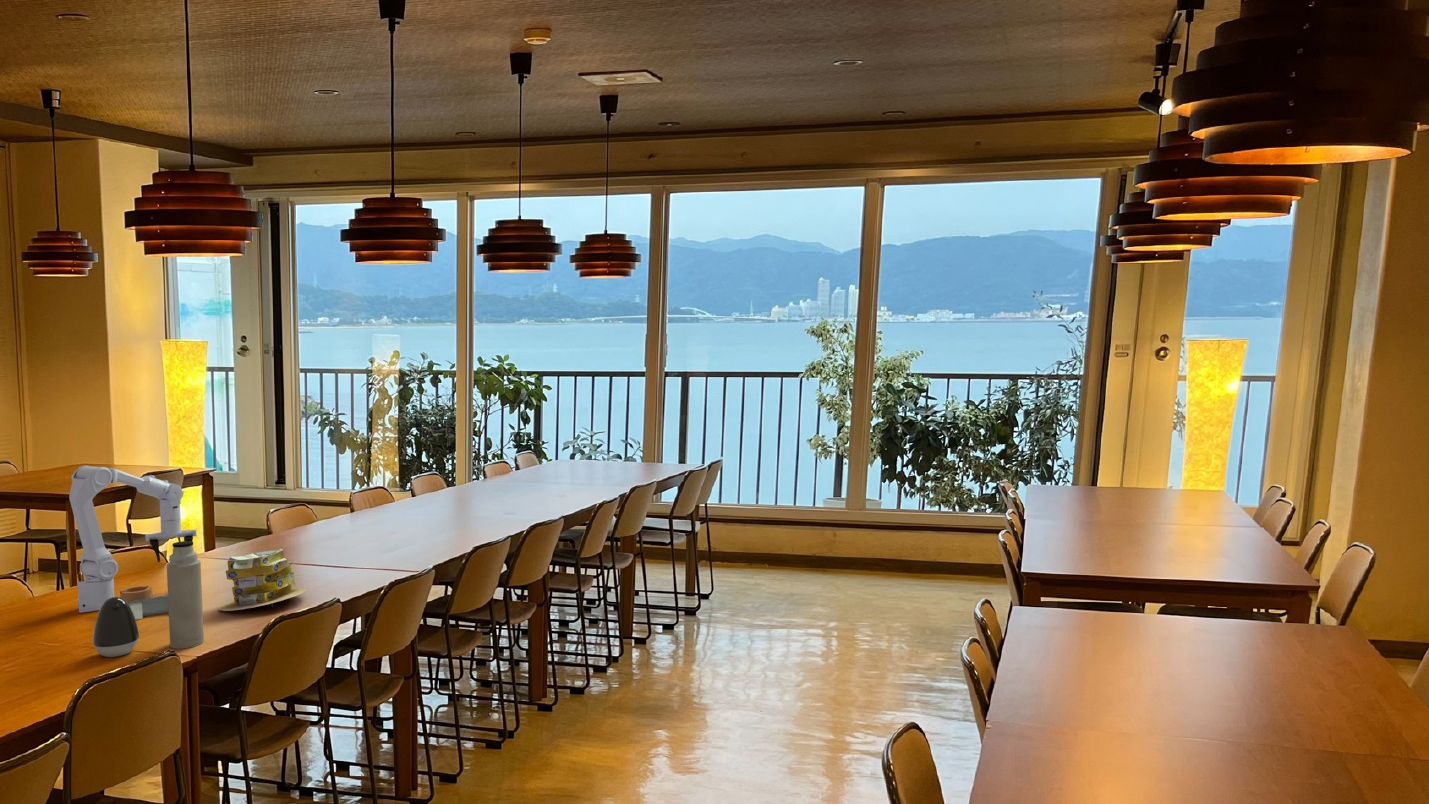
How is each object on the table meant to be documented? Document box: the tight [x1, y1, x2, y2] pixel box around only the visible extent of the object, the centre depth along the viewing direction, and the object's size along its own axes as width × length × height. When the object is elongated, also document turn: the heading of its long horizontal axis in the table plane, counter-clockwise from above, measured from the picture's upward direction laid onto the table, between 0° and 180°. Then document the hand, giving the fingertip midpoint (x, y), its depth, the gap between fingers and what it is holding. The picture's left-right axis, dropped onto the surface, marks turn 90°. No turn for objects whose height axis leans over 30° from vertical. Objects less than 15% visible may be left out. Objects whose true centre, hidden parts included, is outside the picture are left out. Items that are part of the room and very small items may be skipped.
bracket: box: [119, 585, 168, 606], centre depth 285 cm, size 18×8×7 cm, turn 143°
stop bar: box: [130, 596, 169, 621], centre depth 278 cm, size 17×4×5 cm, turn 123°
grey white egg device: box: [92, 596, 140, 658], centre depth 242 cm, size 10×10×15 cm
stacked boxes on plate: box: [218, 548, 308, 612], centre depth 288 cm, size 25×25×17 cm
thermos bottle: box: [166, 540, 205, 650], centre depth 249 cm, size 8×8×28 cm
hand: (172, 559), depth 306 cm, fingers open, 7 cm apart
